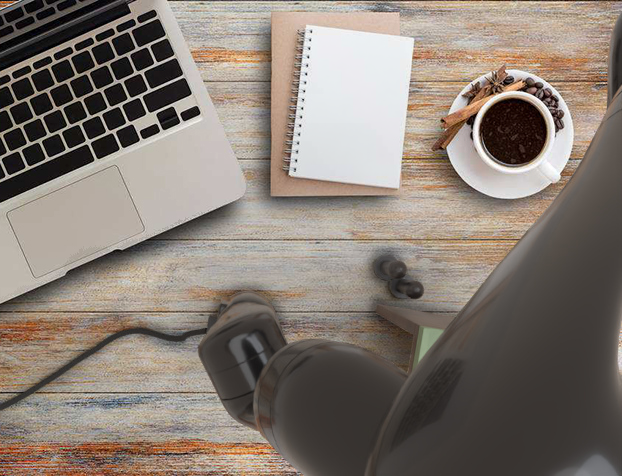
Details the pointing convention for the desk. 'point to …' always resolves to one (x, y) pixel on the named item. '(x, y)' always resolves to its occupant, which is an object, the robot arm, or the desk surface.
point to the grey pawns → (398, 277)
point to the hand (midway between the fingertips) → (554, 349)
